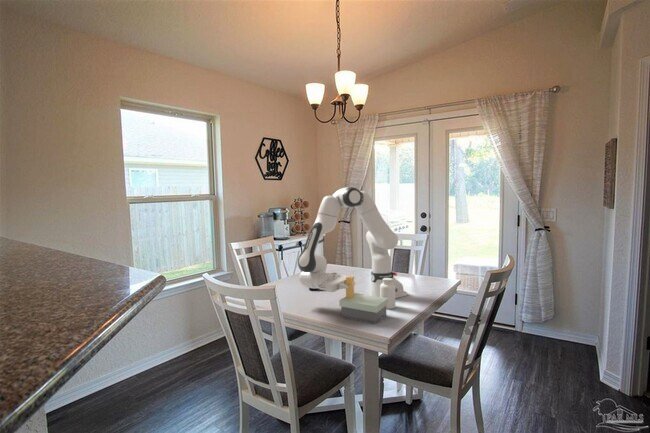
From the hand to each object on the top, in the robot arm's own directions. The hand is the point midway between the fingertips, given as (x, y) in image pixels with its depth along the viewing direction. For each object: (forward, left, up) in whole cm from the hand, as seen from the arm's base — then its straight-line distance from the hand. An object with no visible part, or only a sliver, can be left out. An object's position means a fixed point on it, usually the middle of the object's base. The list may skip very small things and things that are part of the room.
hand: (351, 285), depth 176 cm
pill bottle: (-22, -2, -15) cm, 27 cm away
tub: (-4, +5, -15) cm, 16 cm away
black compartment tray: (-6, -59, -15) cm, 61 cm away
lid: (-4, +5, -9) cm, 11 cm away
